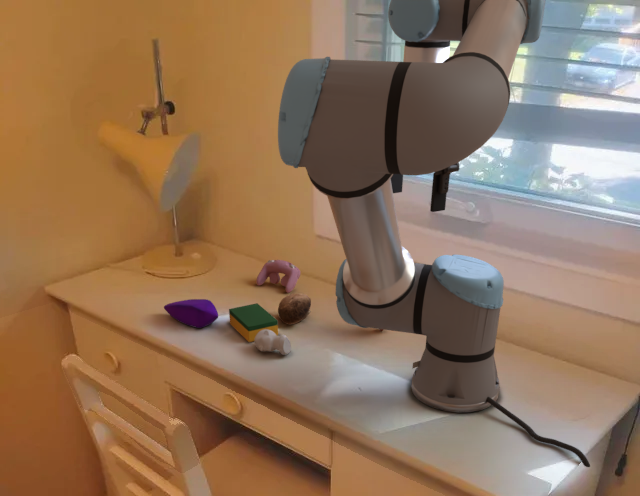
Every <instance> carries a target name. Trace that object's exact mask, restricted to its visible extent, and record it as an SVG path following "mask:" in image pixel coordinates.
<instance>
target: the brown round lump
mask: <svg viewBox="0 0 640 496" xmlns="http://www.w3.org/2000/svg"><path fill="white" fill-rule="evenodd" d="M311 306H312V299H311V297H310V296H309V295H308V294H306V293H290V294H288V295H286V296H284V297H283V298H282V299H281V300H280V302H279V304H278V308H277V313H278V317H279V319H280V320H281V321H282V323H283V324H286V325H295V324H297V323H300V322H301V321H303V320H304V319H306V318H307V317H308V316H309V315H310V314H311V312H312V311H311V310H310V309H311Z"/></svg>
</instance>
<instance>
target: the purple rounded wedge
mask: <svg viewBox="0 0 640 496" xmlns="http://www.w3.org/2000/svg"><path fill="white" fill-rule="evenodd" d="M163 309H164V310H165V312H166V313H167V314H168V315H169V316H170V317H172V318H173V319H175V320H176V321H178V322H180V323H182V324H184V325H186V326H188V327H193V328H197V329H201V328H205V327H208V326H209V325H211V324H212V323H214V322H215V321H217V320H218V319H219V312H218V310H217V308H216V306H215V305H214V303H213V302H212V301H211V300H209V299H205V298H201V299H200V298H198V299H197V298H194V299H193V298H192V299H191V298H190V299H184V300H179V301H174V302H171V303H167V304H165V305H164V306H163Z"/></svg>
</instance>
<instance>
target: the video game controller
mask: <svg viewBox="0 0 640 496" xmlns="http://www.w3.org/2000/svg"><path fill="white" fill-rule="evenodd" d="M280 274H283V276H282V277H281V276H280ZM300 277H301V270H300V268H299V267H298V266H296V265H294V264H293V263H291V262H289V261H287V260H284V259H271V260H270V259H269V260H267V262H265V263H264V265H263V266H262V268H261V270H260V271H259V273H258V275H257V277H256V280H255V281H256V285H257V286H261V285H263V284H264V283H265V282H266V281H267V280H268V278H269V282H270V283H271V284H273V285H278V284H279V283H280V284H281V286H283V287H285V293H287V294H289V293H291V292H292V291H293V290H294V289H295V287H296V286H297V284H298V283H297V282H298V280H299V279H300Z"/></svg>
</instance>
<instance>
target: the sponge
mask: <svg viewBox="0 0 640 496" xmlns="http://www.w3.org/2000/svg"><path fill="white" fill-rule="evenodd" d="M228 316H229V324H230V326H231V327H232V328H234V330H235V331H237V332H238V334H240V335H241V336H242V337H243V338H244V339H245V340H246V341H247V342H248V343H253V342H255V336H256V335H257V333H258V332H259V331H261V330H264V329H268V330H271V331H273V332H274V333H275V334H276V335H277V336H279V320H278V319H277V318H275V317H274V316H273V315H272V314H271V313H270V312H269V311H267V310H266V309H265V308H264V307H263V306H261V305H260V304H259V303H256V302H255V303H252V304H247V305H241V306H237V307H232V308H228Z"/></svg>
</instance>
